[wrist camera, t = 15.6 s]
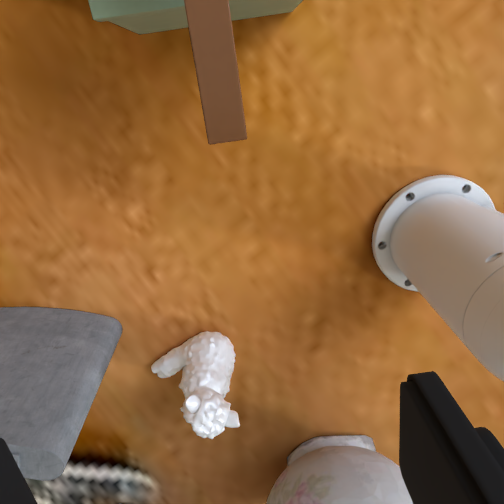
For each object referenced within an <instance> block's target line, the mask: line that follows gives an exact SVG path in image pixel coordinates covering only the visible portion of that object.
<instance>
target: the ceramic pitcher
mask: <svg viewBox="0 0 504 504" xmlns="http://www.w3.org/2000/svg"><path fill="white" fill-rule="evenodd" d="M375 451H376V450H375V446H374V444H373V440H372V438H370V437H367V436H365V435H356V436H322V437H315V438H312V439H310V440H308V441H306V442H304V443H302V444H301V445H300V446H299V447H298V448H296V449H295V450H294V451H293V452H292V453H291V454H290V455H289V456H288V457H287V464H288V467H287V468H286V469H285V470H284V471H283V472H282V473H281V475H280V476H279V477H278V479H277V481H276V482H275V484H274V486H273V488H272V489H271V491H270V494H269V496H268V499H267V502H266V504H413V502H412V499H411V497H410V495H409V492H408V490H407V488H406V485H405V483H404V480H403V478H402V474H401V470H400V467H399V466H398V465H397V464H395V463H394V462H393V461H392V460H390V459H388V458H387V457H385V456H383V455H381V454H380V453H377V452H375Z"/></svg>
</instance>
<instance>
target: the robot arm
mask: <svg viewBox="0 0 504 504" xmlns="http://www.w3.org/2000/svg"><path fill="white" fill-rule="evenodd" d="M463 186H464V187H463ZM462 187H463V188H462ZM408 193H409V195H408V196H407V197H406V195H407V194H408ZM380 242H382V243H381V244H379V243H380ZM372 249H373V254H374V258H375V260H376V262H377V265H378V266H379V268H380V269H381V271H382V272H383V273H384V274H385V276H386V277H387V278H388V279H389V280H390V281H392V282H393V283H395V284H396V285H398V286H400V287H402V288H404V289H407V290H412V291H417V292H420V293H421V294H422V296H423V297H424V298H425V299H426V300H427V301H428V303H429V304H430V305H431V306H432V307H433V308H434V310H435V311H436V312H437V313H438V314H439V315H440V317H441V318H442V319H443V320H444V321H445V322H446V324H447V325H448V326H449V327H450V328H451V329H452V330H453V332H454V333H455V334H456V335H457V336H458V337H459V339H460V340H461V341H462V342H463V343H464V344H465V346H466V347H467V348H468V349H469V350H470V351H471V353H472V354H473V355H474V356H475V357H476V358H477V359H478V360H479V362H480V363H481V364H482V365H483V366H484V367H485V368H486V369H487V370H488V371H489V372H491V373H492V374H493V375H495V376H496V377H497V378H499V379H501V380H502V381H504V214H502V213H500V212H499V211H497V210H495V207H494V204H493V202H492V201H491V199H490V197H489V196H488V194H487V193H486V192H485V191H484V190H483V189H482V188H481V187H479V186H478V185H476V184H475V183H473V182H471V181H469V180H467V179H464V178H461V177H457V176H453V175H436V176H429V177H426V178H423V179H420V180H417V181H415V182H413V183H411V184H409V185H407V186H405V187H404V188H403V189H401V190H400V191H399V192H397V193H396V194H395V195H394V196H393V197H392V198H391V199H390V200H389V201H388V202H387V203H386V205H385V206H384V208H383V209H382V211H381V212H380V214H379V216H378V218H377V221H376V223H375V226H374V230H373V235H372ZM399 465H400V470H401V474H402V478H403V480H404V483H405V485H406V488H407V490H408V492H409V495H410V497H411V499H412V502H413V504H504V448H503V447H502V446H501V444H500V443H499V442H498V440H497V439H496V437H495V436H494V435H493V434H492V433H491V432H490V431H489V430H488V429H486V428H485V427H478V428H474V427H473V426H472V424H471V423H470V421H469V420H468V418H467V417H466V416H465V414H464V413H463V411H462V410H461V408H460V407H459V405H458V404H457V402H456V401H455V400H454V398H453V397H452V395H451V394H450V392H449V391H448V389H447V388H446V386H445V385H444V383H443V382H442V381H441V379H440V378H439V376H438V375H437V374H436V373H435V372H433V371H432V372H425V373H418V374H410V375H408V377H407V382H401V384H400V448H399ZM0 504H37V502H36V500H35V498H34V496H33V494H32V492H31V490H30V488H29V486H28V484H27V483H26V481H25V479H24V477H23V475H22V473H21V471H20V469H19V467H18V465H17V463H16V461H15V459H14V457H13V455H12V453H11V451H10V450H9V448H8V446H7V444H6V442H5V440H4V439H2V438H0Z"/></svg>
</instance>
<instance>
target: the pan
mask: <svg viewBox="0 0 504 504" xmlns="http://www.w3.org/2000/svg"><path fill="white" fill-rule="evenodd" d="M184 4H185V10H186V16H187V22H188V28H189V33H190V39H191V45H192V51H193V57H194V62H195V68H196V74H197V80H198V86H199V91H200V97H201V103H202V109H203V115H204V121H205V126H206V132H207V138H208V144H210V145H211V144H217V143H224V142H231V141H238V140H245V139H247V133H246V125H245V118H244V110H243V103H242V95H241V88H240V81H239V73H238V66H237V58H236V51H235V43H234V36H233V28H232V21H231V14H230V6H229V0H184Z"/></svg>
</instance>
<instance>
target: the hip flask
mask: <svg viewBox="0 0 504 504" xmlns="http://www.w3.org/2000/svg"><path fill="white" fill-rule="evenodd" d="M121 334H122V326H121V324H120V322H119V321H118V320H116V319H115V318H112V317H109V316H104V315H100V314H95V313H89V312H83V311H76V310H69V309H58V308H43V307H3V308H0V438H2V439H4V440H5V442H6V444H7V446H8V448H9V450H10V451H11V453H12V455H13V457H14V459H15V461H16V463H17V465H18V467H19V469H20V471H21V473H22V475H23V477H24V478H30V479H36V480H43V481H44V480H52V479H55V478H57V477H59V476H60V475H61V474H62V473H63V471H64V469H65V467H66V464H67V462H68V459H69V457H70V455H71V452H72V450H73V448H74V445H75V443H76V440H77V438H78V436H79V433H80V431H81V429H82V426H83V424H84V422H85V419H86V417H87V414H88V412H89V410H90V407H91V405H92V403H93V400H94V398H95V395H96V393H97V391H98V388H99V386H100V384H101V381H102V379H103V376H104V374H105V372H106V369H107V367H108V365H109V362H110V360H111V358H112V355H113V353H114V350H115V348H116V346H117V343H118V341H119V339H120V336H121Z"/></svg>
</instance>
